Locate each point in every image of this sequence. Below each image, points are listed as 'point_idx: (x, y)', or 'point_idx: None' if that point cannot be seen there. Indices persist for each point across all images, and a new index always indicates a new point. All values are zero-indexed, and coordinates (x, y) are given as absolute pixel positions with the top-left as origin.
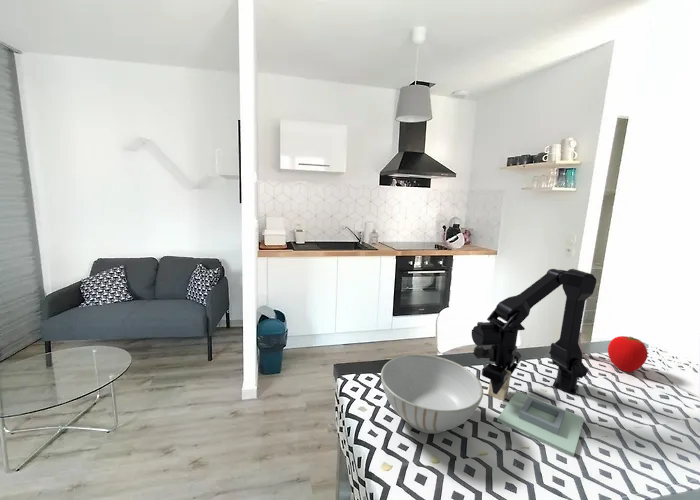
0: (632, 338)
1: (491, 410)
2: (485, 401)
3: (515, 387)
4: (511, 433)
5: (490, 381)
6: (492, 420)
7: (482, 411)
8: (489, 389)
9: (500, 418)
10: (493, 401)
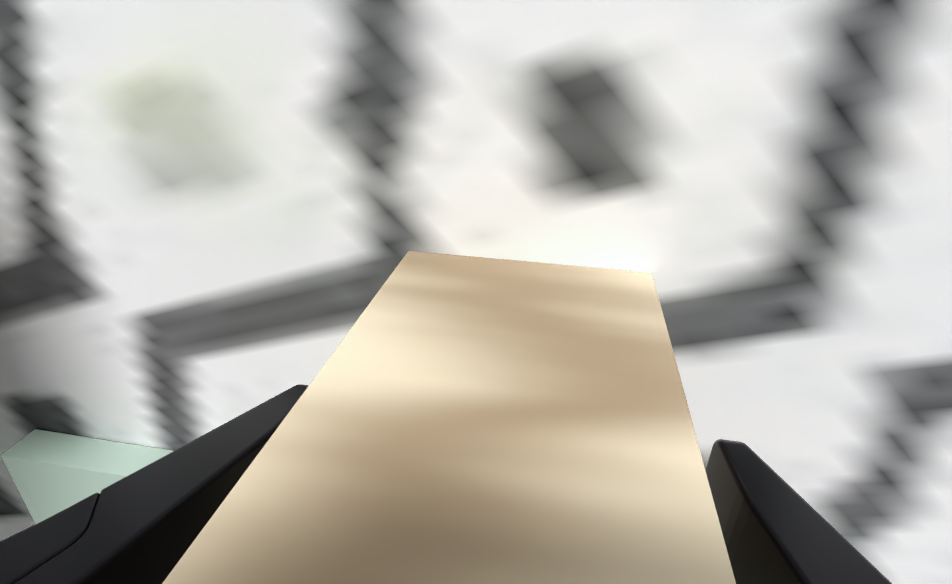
0: None
1: (127, 358)
2: (220, 262)
3: (917, 526)
4: (25, 525)
5: (291, 418)
6: (3, 393)
7: (15, 283)
8: (372, 308)
9: (21, 475)
10: (311, 344)
